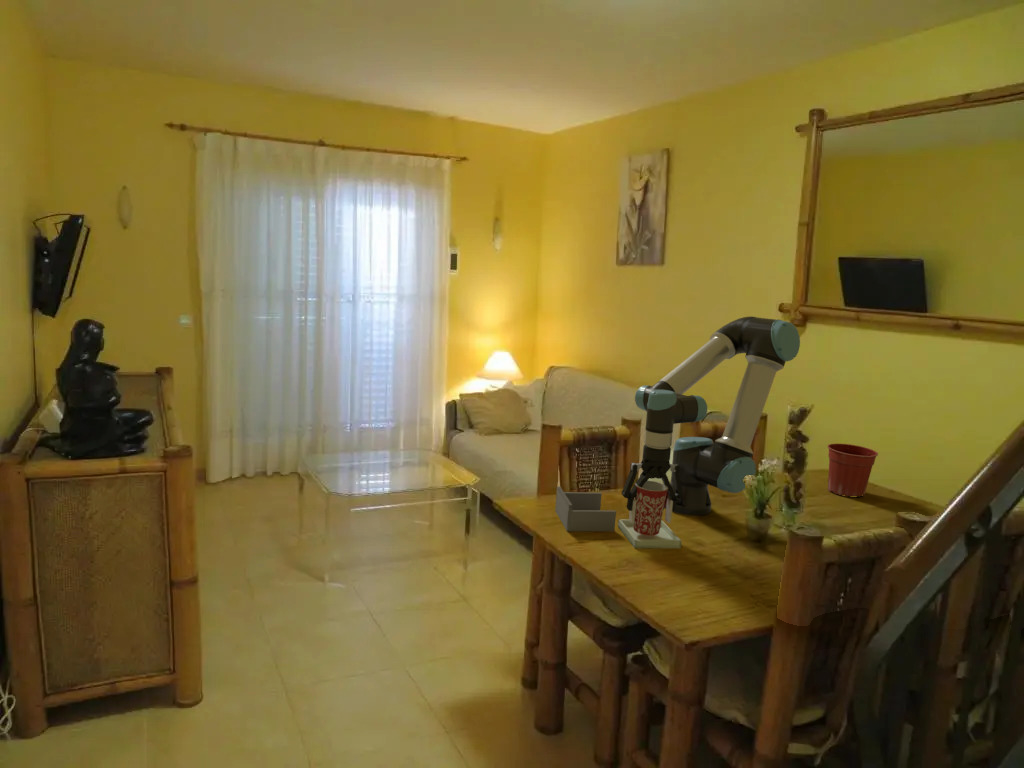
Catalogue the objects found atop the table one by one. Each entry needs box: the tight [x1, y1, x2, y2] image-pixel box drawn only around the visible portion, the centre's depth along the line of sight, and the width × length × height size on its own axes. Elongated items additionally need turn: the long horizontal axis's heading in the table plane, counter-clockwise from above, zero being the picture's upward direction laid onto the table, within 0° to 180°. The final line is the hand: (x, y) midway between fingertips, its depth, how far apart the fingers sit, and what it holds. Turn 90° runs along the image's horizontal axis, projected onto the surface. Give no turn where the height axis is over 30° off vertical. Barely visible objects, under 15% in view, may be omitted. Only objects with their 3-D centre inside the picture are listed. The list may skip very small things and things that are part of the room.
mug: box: [634, 480, 668, 535], centre depth 207 cm, size 13×9×14 cm
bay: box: [554, 486, 617, 532], centre depth 217 cm, size 14×17×8 cm
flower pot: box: [827, 443, 879, 496], centre depth 260 cm, size 16×16×16 cm
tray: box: [617, 518, 682, 549], centre depth 208 cm, size 13×16×2 cm
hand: (649, 521), depth 207 cm, fingers closed on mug, 10 cm apart
